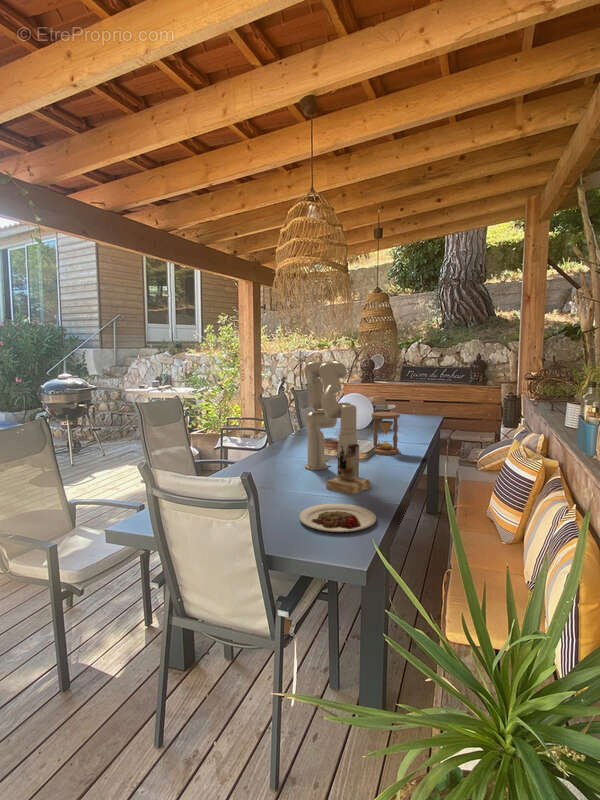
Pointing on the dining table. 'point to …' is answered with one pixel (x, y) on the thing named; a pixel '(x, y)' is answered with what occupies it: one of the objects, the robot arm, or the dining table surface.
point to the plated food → (337, 517)
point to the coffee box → (350, 464)
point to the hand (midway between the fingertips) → (348, 466)
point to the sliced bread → (348, 485)
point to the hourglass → (385, 425)
